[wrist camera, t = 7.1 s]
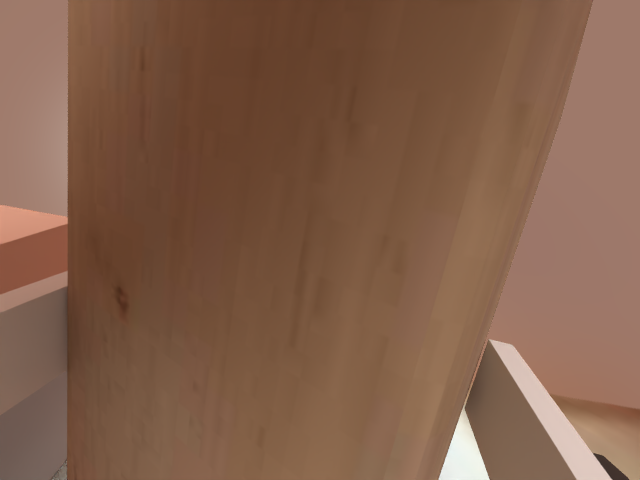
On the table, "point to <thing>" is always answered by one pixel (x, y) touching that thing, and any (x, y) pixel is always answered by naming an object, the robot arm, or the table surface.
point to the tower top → (31, 247)
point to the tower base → (35, 434)
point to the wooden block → (295, 226)
